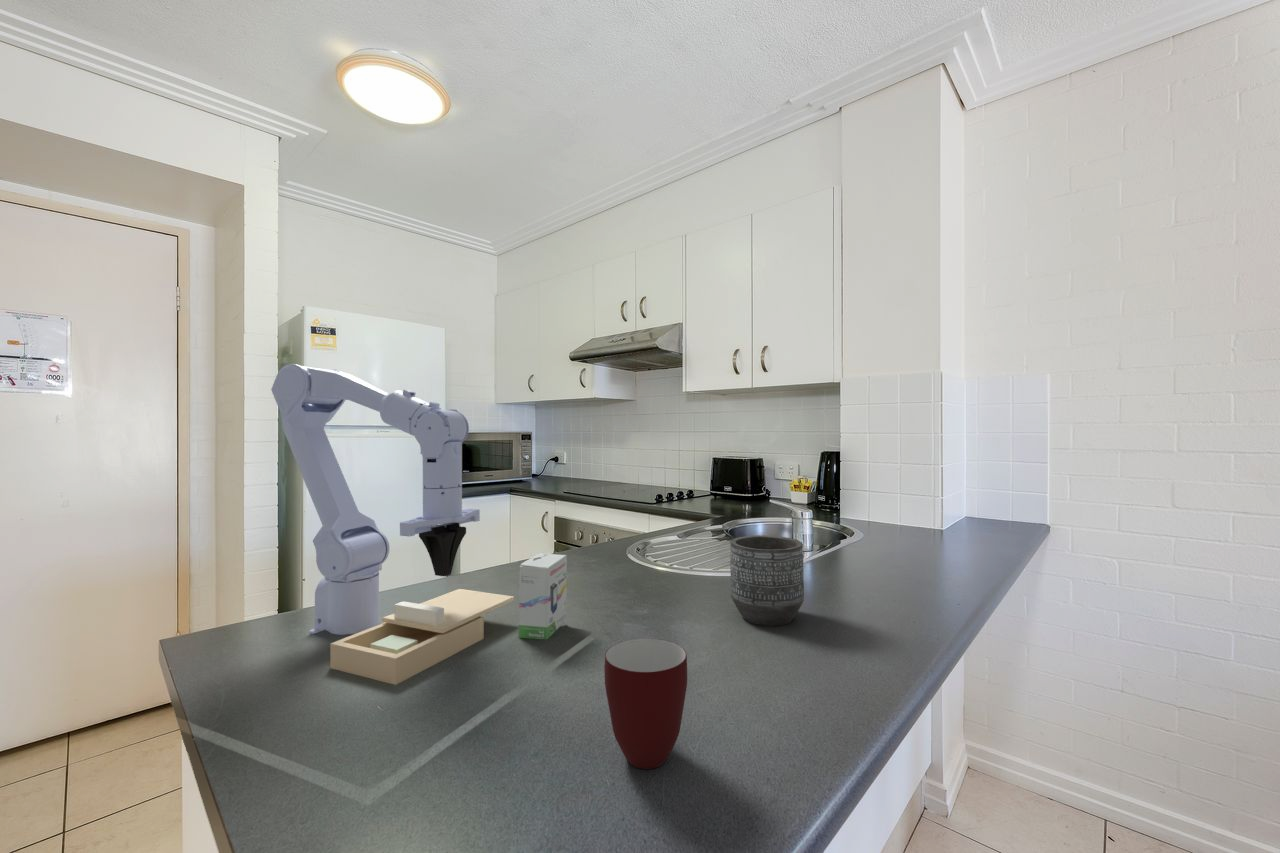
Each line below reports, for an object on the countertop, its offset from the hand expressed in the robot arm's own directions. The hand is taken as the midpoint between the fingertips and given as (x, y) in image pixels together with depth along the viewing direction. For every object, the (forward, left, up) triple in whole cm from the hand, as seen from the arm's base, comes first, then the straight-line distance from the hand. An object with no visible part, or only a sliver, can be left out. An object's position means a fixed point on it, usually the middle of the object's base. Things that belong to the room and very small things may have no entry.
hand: (443, 574), depth 83 cm
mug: (+40, -14, -10) cm, 44 cm away
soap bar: (+1, -10, -9) cm, 14 cm away
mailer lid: (+1, +1, -6) cm, 6 cm away
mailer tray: (+1, -7, -10) cm, 12 cm away
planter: (+44, +29, -10) cm, 54 cm away
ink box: (+13, +8, -10) cm, 18 cm away
